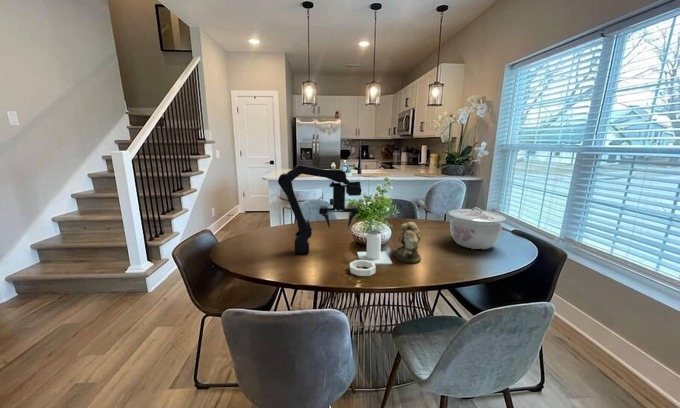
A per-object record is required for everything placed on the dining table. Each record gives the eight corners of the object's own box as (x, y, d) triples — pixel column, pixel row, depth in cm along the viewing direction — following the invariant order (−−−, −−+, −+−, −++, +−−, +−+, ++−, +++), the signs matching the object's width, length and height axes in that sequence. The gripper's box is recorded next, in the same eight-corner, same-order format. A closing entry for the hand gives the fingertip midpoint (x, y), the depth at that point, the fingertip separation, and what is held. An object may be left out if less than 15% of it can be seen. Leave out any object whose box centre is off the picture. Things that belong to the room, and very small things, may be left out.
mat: (360, 264, 126) (360, 263, 126) (357, 253, 140) (357, 251, 140) (392, 264, 127) (392, 263, 127) (385, 252, 141) (385, 251, 140)
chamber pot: (501, 259, 134) (507, 216, 130) (440, 248, 148) (444, 209, 144) (502, 242, 158) (507, 205, 154) (450, 234, 171) (453, 200, 167)
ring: (351, 276, 115) (351, 270, 114) (349, 265, 125) (349, 260, 125) (376, 275, 115) (377, 270, 115) (372, 265, 126) (372, 259, 125)
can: (380, 260, 130) (381, 234, 127) (366, 259, 131) (366, 233, 128) (380, 254, 136) (381, 230, 134) (366, 254, 137) (367, 229, 134)
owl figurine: (389, 250, 144) (391, 217, 141) (411, 249, 146) (414, 217, 142) (400, 264, 127) (402, 227, 123) (426, 264, 128) (429, 227, 125)
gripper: (356, 193, 145) (356, 223, 148) (319, 193, 144) (319, 223, 147) (359, 197, 134) (358, 229, 137) (319, 197, 133) (319, 229, 136)
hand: (338, 227), depth 140 cm, fingers open, 9 cm apart
